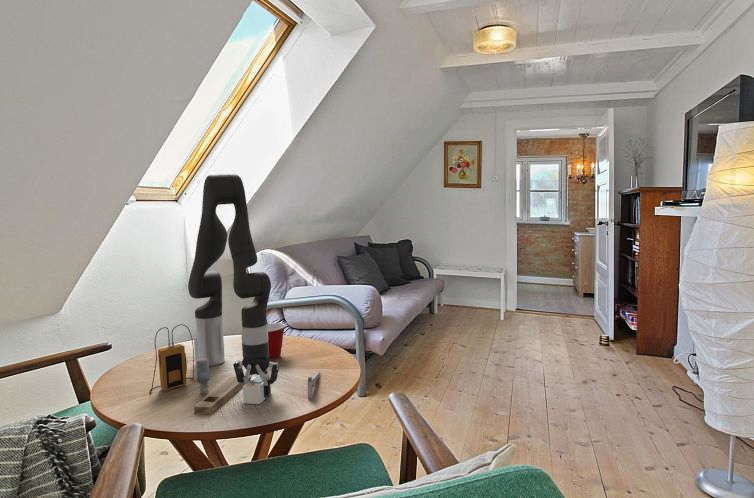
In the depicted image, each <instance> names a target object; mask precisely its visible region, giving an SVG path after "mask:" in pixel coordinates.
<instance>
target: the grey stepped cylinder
mask: <svg viewBox="0 0 754 498" xmlns="http://www.w3.org/2000/svg"><path fill="white" fill-rule="evenodd" d="M195 368H196V370H195V371H196V372H195V373H196V382H197V383H198V384H199V395H202V396H203V395H204V396H205V395H209V384H208V383H209V382H210V380H211V379H210V366H209V361H208V360H207V359H206V358H202V359H198V360H197V362H196V363H195Z"/></svg>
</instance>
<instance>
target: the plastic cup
mask: <svg viewBox="0 0 754 498" xmlns="http://www.w3.org/2000/svg"><path fill="white" fill-rule="evenodd" d="M285 327H286V324H285V323H282V322H274V323H273V322H272V323H267V330H268V337H269V338H268V345H269V359H270V361H273V360H276V359H279V358H280V357H281V354H282V348H283V341H284V333H285Z"/></svg>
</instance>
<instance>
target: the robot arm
mask: <svg viewBox="0 0 754 498" xmlns="http://www.w3.org/2000/svg"><path fill="white" fill-rule="evenodd" d="M205 177H206V178H205V180H204V182H203V191H202V203H201V206H202V208H201V216H200V222H199V223H200V224H199V228H198V233H197V237H196V238H197V239H196V244H195V245H196V246H195V253H194V254H195V255H194V257H193V258H194V259H193V263H192V267H191V271H190V273H189V276H188V285H187V287H188V288H187V289H188V294H189V295H190V297H191V298H192V299H196V300H197V299H198V300H200V299H205V298H207V299H208V298H209V299H208V300H207V302H205V303H203V304H202V305H200V306H197V308H195V310H194V321H195V322H194V323H195V335H196V336H195V337H194V339H193V347H194V364H196V362H197V360H198V359H202V358H206V359H207V360H208V361H209V367H212V366H218V365H220V364H222V363H224V362H226V360H225V359H226V358H225V356H226V355H225V344H224V342H225V341H224V321H223V280H222V277H221V273H219V272H218V271H217V270H211V271H210V270H209V269H210V268H211V267H212V266H213V265H214V264H215V263H216V262H217V261H219V259H220V258H221V257H222V256H223V254H224V253H225V250H226V247H227V244H228V248H229V252H230V255H231V259H232V267H233V280H232V281H233V282H232V284H233V285H232V286H233V287H232V288H233V291H234V293H235V295H236V296H237V297H238V298H239V299H244V300H245V299H250V298H253V300H252V302H251V303H249V304H247V305H245V306H243V307H242V308H241V315H240V316H241V346H242V347H241V348H242V349H241V351H242V360H236V361H235V362H234V363H233V369H234V372H235V377H237V381H238V382H242V383H243V384H244V385H245V384H246V383H248V382H249V381H250V380H251V379H252V378H253V376H254V375H256V376H259V377H260V378H261V379H262V380H263V383H264V398H266V399H267V398H268V397H270V395H271V394H272V391H271V390H272V387H270V384H271V385H273V384H274V383H275V382H276V381H277V379H278V375H279V369H280V363H279V361H276V362H273V361H272V360H270V359H269V345H268V338H269V337H268V330H267V324H268V323H267V308H268V302H269V298H270V294H271V289H272V283H271V282H272V281H271V278H270V276H269V275H268V274H267V273H266V272H264V271H257V272H249V273H247V269H248V268H251V267H253V266H255V265H256V264H257V263H258V254H257V251H256V247H255V244H254V242H253V238H252V233H251V232H252V231H251V229H250V228H251V227H250V219H249V212H248V205H247V199H246V198H247V197H246V191H245V185H244V182H243V179H242V178H241V176H240V175H238V174H236V173H213V174H209V175H207V176H205ZM219 205H220V206H221V205H222V206H223V205H233V207H234V212H235V214H234V218H233V223H232V226H231V227H230V231H229V234H228V230H227V227H225V225H224V224H223V222H222V221H221V219H220V218H219V216H218V214H217V208H218V206H219ZM208 270H209V271H208ZM243 367H244V369H245V372H244V369H243ZM269 367H270V368H269ZM268 368H269V369H270V370H271V373H269V370H268ZM270 393H271V394H270Z"/></svg>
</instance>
